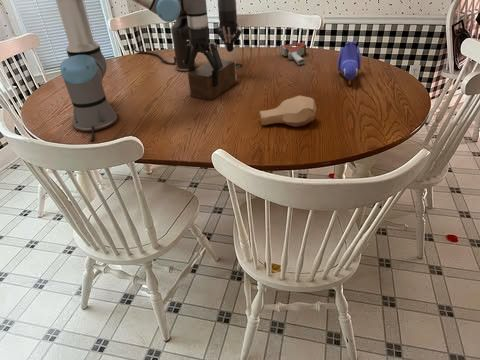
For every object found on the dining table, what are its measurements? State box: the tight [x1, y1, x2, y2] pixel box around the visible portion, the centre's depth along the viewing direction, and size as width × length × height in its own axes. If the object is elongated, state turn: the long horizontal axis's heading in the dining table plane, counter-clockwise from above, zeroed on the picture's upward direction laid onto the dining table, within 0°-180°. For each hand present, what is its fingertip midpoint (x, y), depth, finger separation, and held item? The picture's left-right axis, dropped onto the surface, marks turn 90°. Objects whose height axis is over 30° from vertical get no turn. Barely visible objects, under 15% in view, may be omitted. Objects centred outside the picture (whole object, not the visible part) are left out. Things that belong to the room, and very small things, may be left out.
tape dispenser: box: [279, 42, 307, 66], centre depth 180 cm, size 18×5×20 cm
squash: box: [258, 94, 318, 128], centre depth 122 cm, size 11×20×9 cm, turn 92°
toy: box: [336, 40, 362, 86], centre depth 151 cm, size 10×17×25 cm
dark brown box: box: [187, 59, 237, 101], centre depth 151 cm, size 20×10×10 cm, turn 150°
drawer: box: [234, 61, 244, 81], centre depth 154 cm, size 25×9×8 cm, turn 150°
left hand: (204, 83), depth 146 cm, fingers closed on dark brown box, 10 cm apart
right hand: (230, 51), depth 157 cm, fingers closed
